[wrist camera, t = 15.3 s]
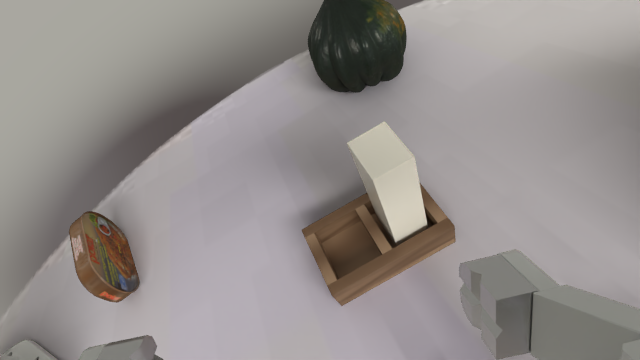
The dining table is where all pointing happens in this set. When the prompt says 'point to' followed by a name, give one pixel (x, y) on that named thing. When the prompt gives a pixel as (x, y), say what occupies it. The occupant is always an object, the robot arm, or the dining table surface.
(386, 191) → the cream rectangular block
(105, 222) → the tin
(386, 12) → the squash
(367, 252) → the walnut rack
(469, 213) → the dining table surface
